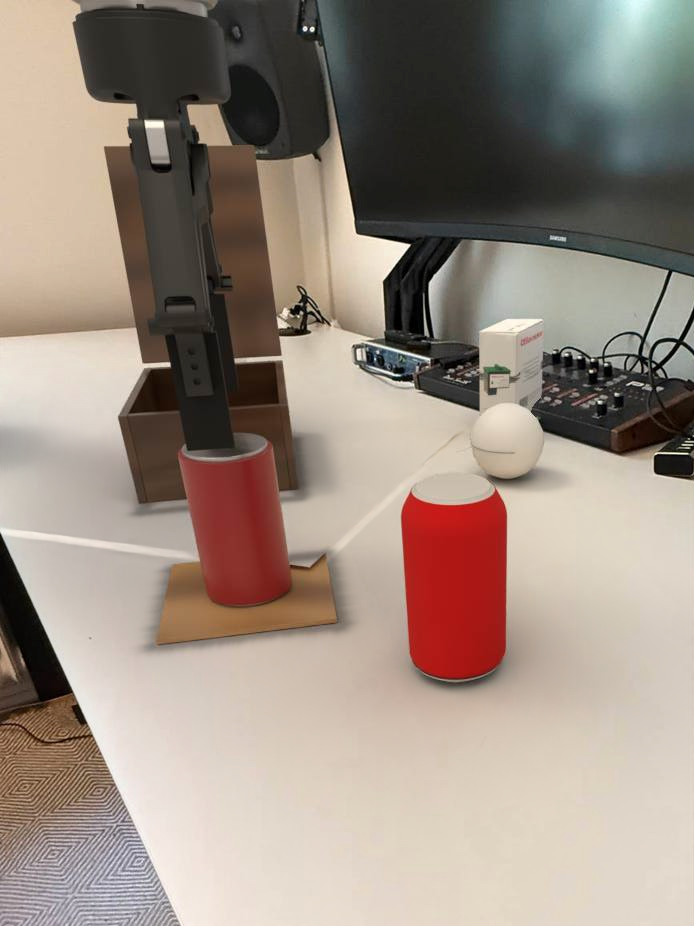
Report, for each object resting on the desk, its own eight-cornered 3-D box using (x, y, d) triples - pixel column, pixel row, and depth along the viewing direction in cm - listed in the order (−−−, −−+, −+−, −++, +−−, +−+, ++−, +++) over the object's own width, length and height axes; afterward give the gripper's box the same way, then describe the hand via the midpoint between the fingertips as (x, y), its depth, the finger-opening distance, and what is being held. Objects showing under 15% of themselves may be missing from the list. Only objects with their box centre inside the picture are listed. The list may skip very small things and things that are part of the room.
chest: (300, 496, 77) (288, 405, 72) (140, 511, 74) (117, 416, 70) (292, 438, 93) (282, 359, 89) (161, 448, 90) (143, 367, 86)
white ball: (518, 460, 86) (520, 391, 82) (556, 481, 80) (559, 407, 76) (434, 476, 82) (432, 403, 78) (468, 499, 76) (467, 422, 72)
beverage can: (397, 684, 49) (383, 500, 43) (426, 634, 55) (418, 464, 48) (493, 697, 48) (493, 510, 42) (514, 645, 53) (517, 471, 47)
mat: (337, 622, 56) (336, 617, 56) (157, 644, 54) (156, 639, 53) (325, 552, 66) (324, 548, 66) (173, 568, 64) (172, 564, 63)
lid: (254, 145, 82) (254, 147, 83) (103, 145, 79) (105, 148, 80) (281, 355, 88) (281, 356, 89) (142, 363, 85) (143, 363, 86)
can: (190, 603, 58) (157, 454, 52) (235, 566, 63) (210, 428, 57) (266, 614, 56) (241, 463, 51) (307, 576, 61) (288, 435, 56)
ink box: (506, 415, 101) (506, 315, 95) (543, 419, 99) (546, 318, 93) (477, 434, 94) (476, 328, 88) (516, 439, 92) (518, 331, 86)
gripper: (210, -27, 32) (278, 474, 44) (227, 41, 53) (270, 369, 64) (8, -36, 31) (132, 486, 42) (107, 38, 52) (172, 374, 63)
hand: (216, 416), depth 53 cm, fingers open, 13 cm apart
